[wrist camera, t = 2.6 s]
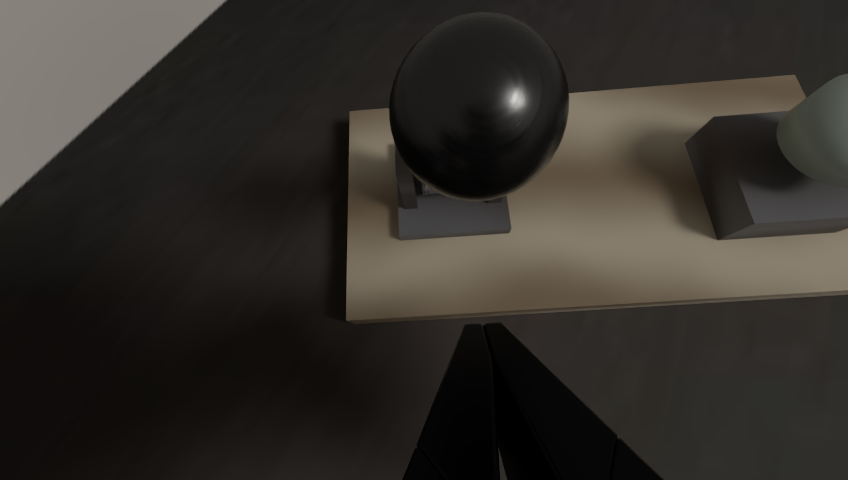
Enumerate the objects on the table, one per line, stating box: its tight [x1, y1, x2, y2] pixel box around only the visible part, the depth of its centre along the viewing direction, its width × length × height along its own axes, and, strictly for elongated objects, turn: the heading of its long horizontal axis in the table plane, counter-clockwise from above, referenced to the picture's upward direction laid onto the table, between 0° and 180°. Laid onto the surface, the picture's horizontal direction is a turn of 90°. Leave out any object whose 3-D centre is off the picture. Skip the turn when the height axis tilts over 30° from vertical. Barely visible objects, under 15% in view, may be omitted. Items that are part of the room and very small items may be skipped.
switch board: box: [346, 75, 848, 324], centre depth 16 cm, size 11×23×5 cm, turn 93°
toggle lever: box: [389, 12, 569, 201], centre depth 11 cm, size 3×3×12 cm
